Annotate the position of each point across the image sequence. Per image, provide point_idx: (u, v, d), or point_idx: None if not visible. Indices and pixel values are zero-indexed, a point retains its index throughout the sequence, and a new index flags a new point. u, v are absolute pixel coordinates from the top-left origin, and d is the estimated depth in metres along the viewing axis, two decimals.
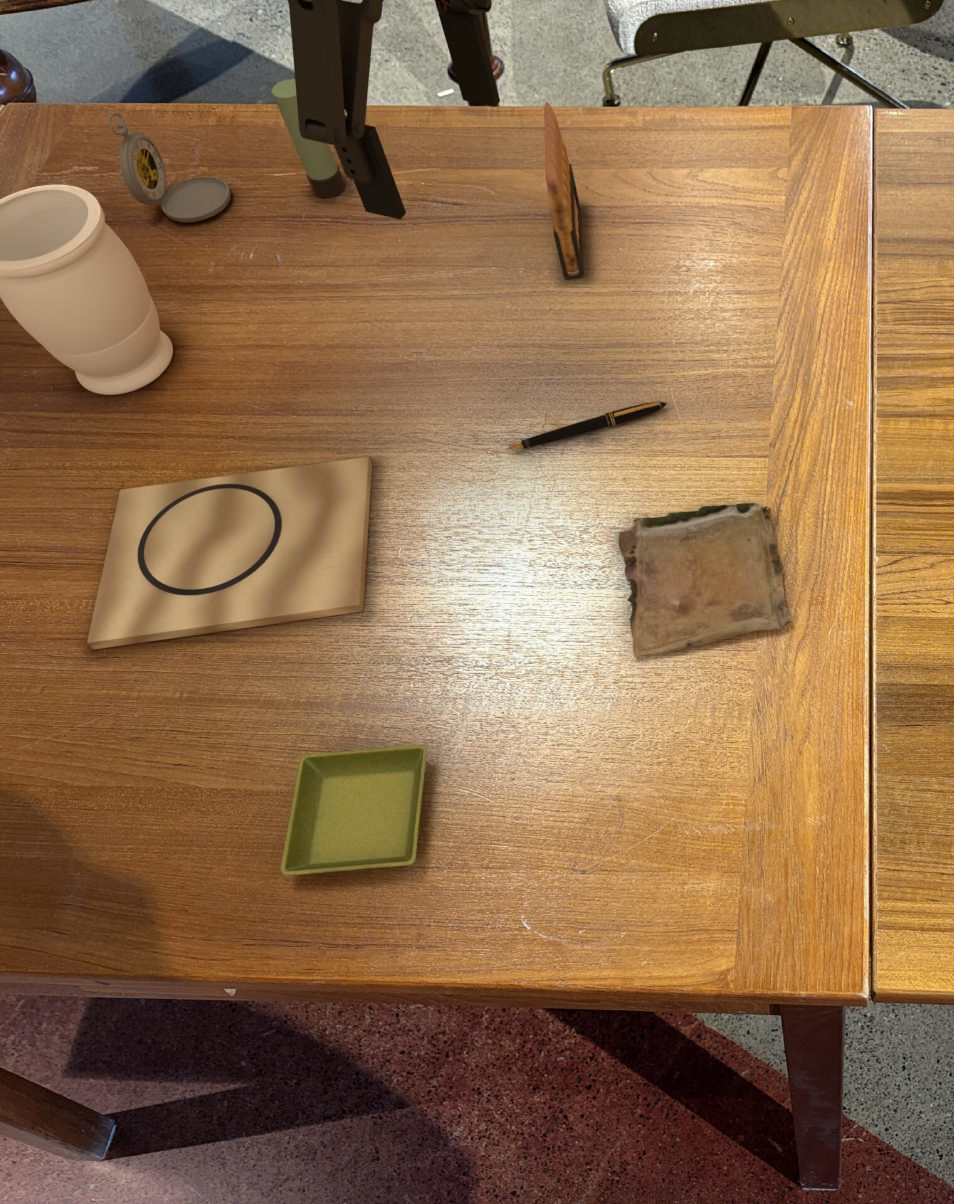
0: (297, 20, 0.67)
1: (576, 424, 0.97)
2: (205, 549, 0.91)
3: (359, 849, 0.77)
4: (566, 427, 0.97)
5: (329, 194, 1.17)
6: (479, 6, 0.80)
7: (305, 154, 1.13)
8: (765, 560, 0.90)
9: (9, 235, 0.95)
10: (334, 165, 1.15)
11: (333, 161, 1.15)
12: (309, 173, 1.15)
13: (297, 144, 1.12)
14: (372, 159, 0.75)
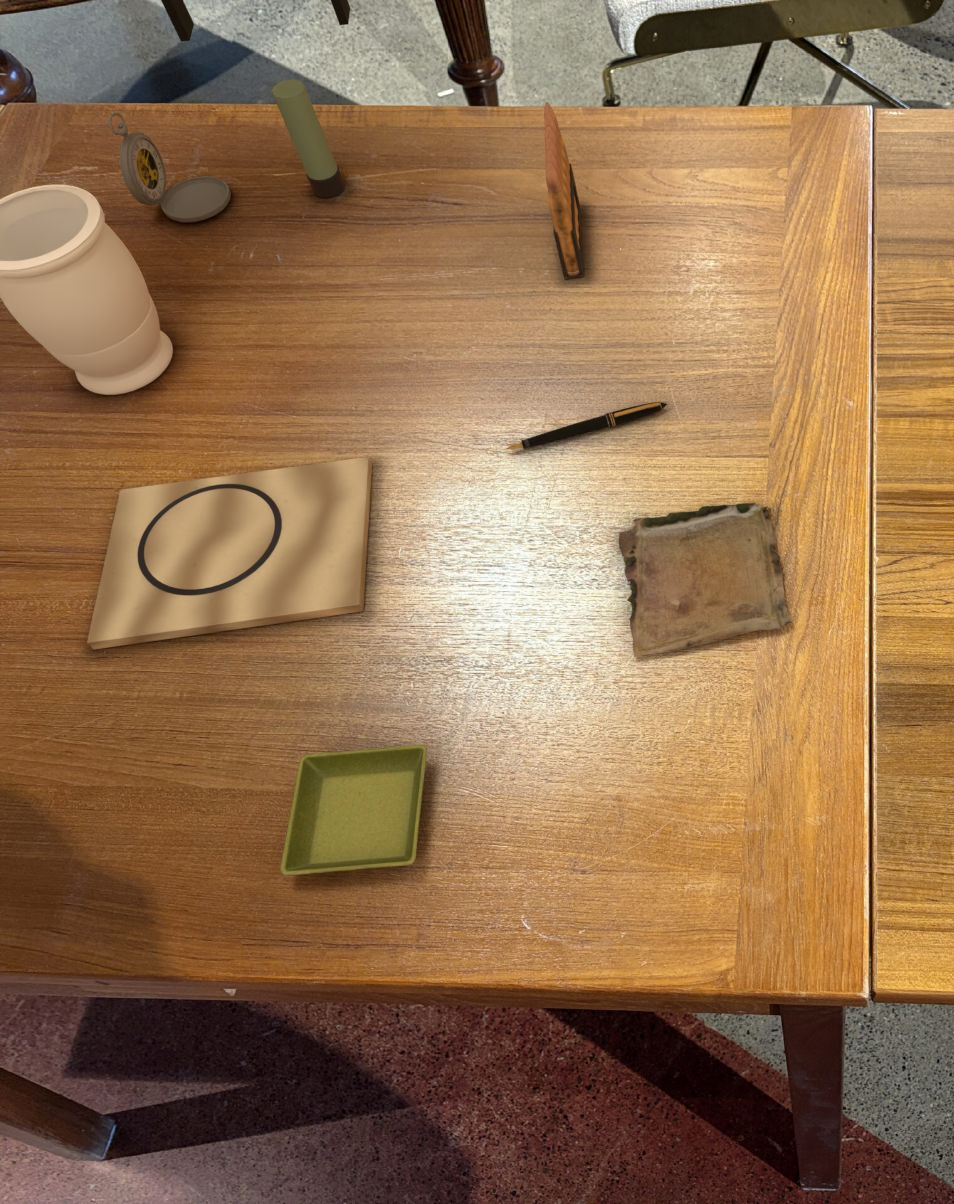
0: None
1: (576, 424, 0.97)
2: (205, 549, 0.91)
3: (359, 849, 0.77)
4: (566, 427, 0.97)
5: (329, 194, 1.17)
6: None
7: (305, 154, 1.13)
8: (765, 560, 0.90)
9: (9, 235, 0.95)
10: (334, 165, 1.15)
11: (333, 161, 1.15)
12: (309, 173, 1.15)
13: (297, 144, 1.12)
14: None
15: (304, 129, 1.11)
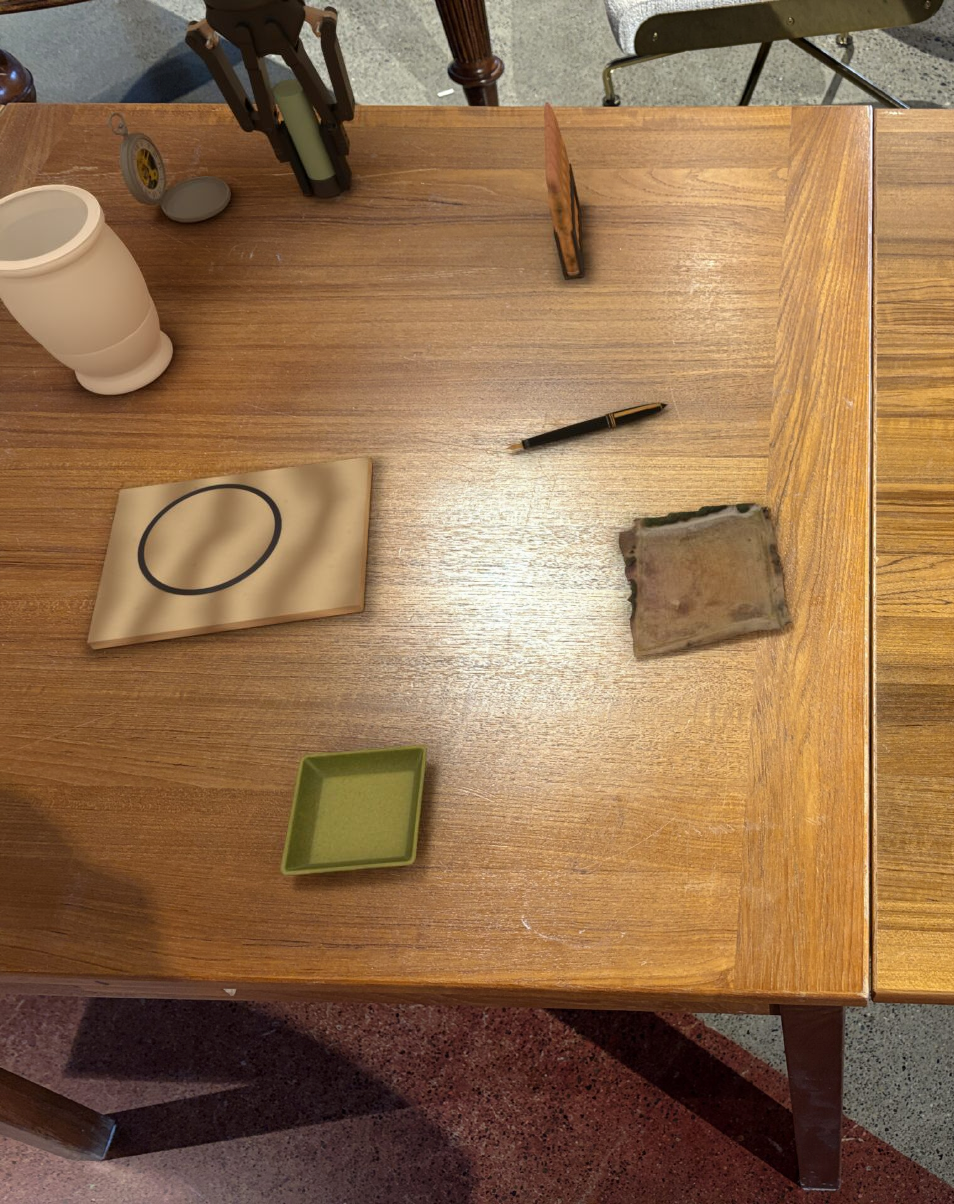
0: None
1: (576, 425, 0.97)
2: (205, 549, 0.91)
3: (359, 849, 0.77)
4: (566, 427, 0.97)
5: (329, 194, 1.17)
6: (327, 126, 1.11)
7: (305, 154, 1.13)
8: (765, 560, 0.90)
9: (9, 235, 0.95)
10: None
11: None
12: (309, 173, 1.15)
13: (297, 144, 1.12)
14: None
15: (304, 129, 1.11)
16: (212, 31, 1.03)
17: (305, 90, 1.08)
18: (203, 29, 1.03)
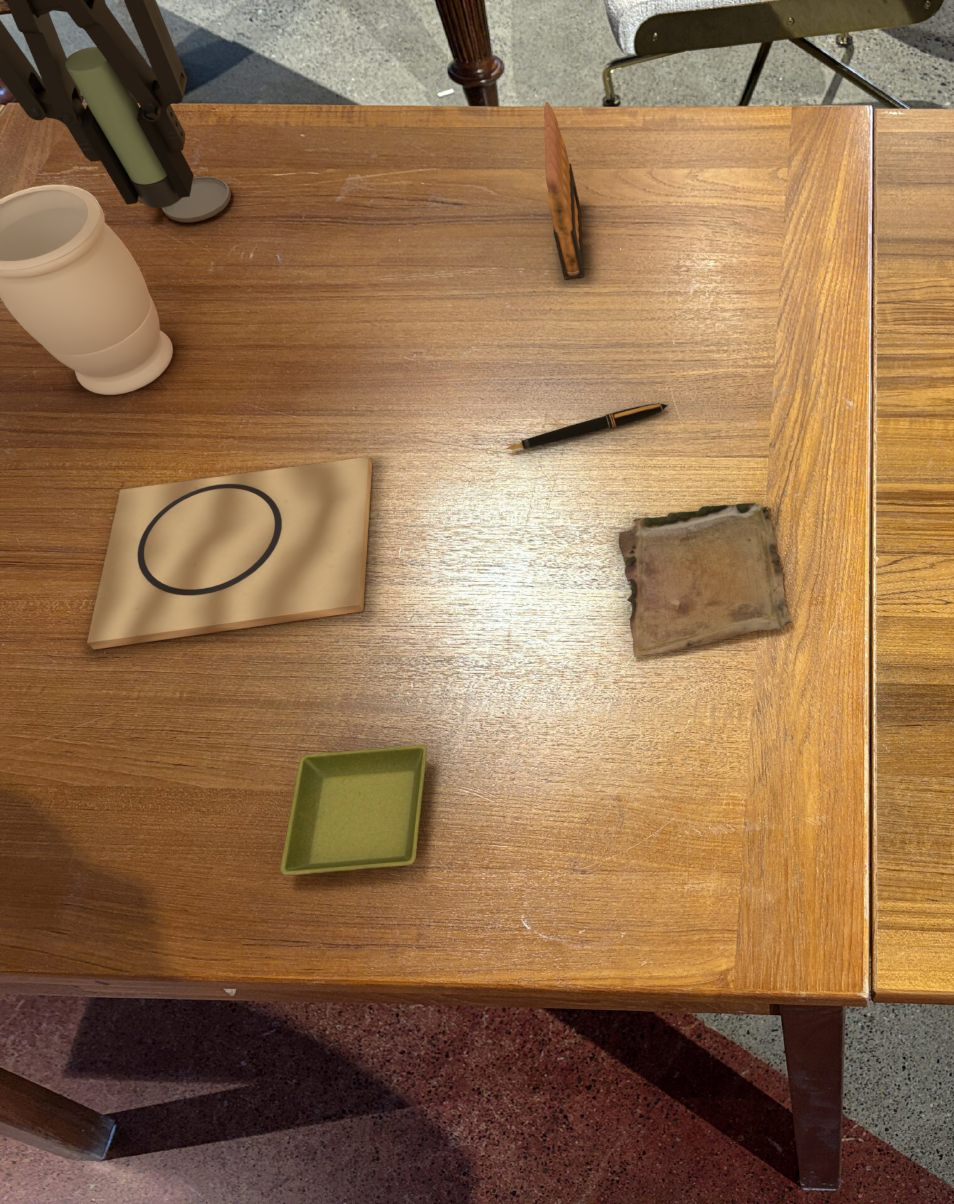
0: None
1: (576, 425, 0.97)
2: (205, 549, 0.91)
3: (359, 849, 0.77)
4: (566, 428, 0.97)
5: (161, 203, 0.87)
6: (146, 110, 0.82)
7: (121, 149, 0.84)
8: (765, 560, 0.90)
9: (9, 235, 0.95)
10: None
11: None
12: (131, 175, 0.86)
13: (109, 136, 0.83)
14: None
15: (114, 115, 0.81)
16: None
17: (110, 61, 0.79)
18: None
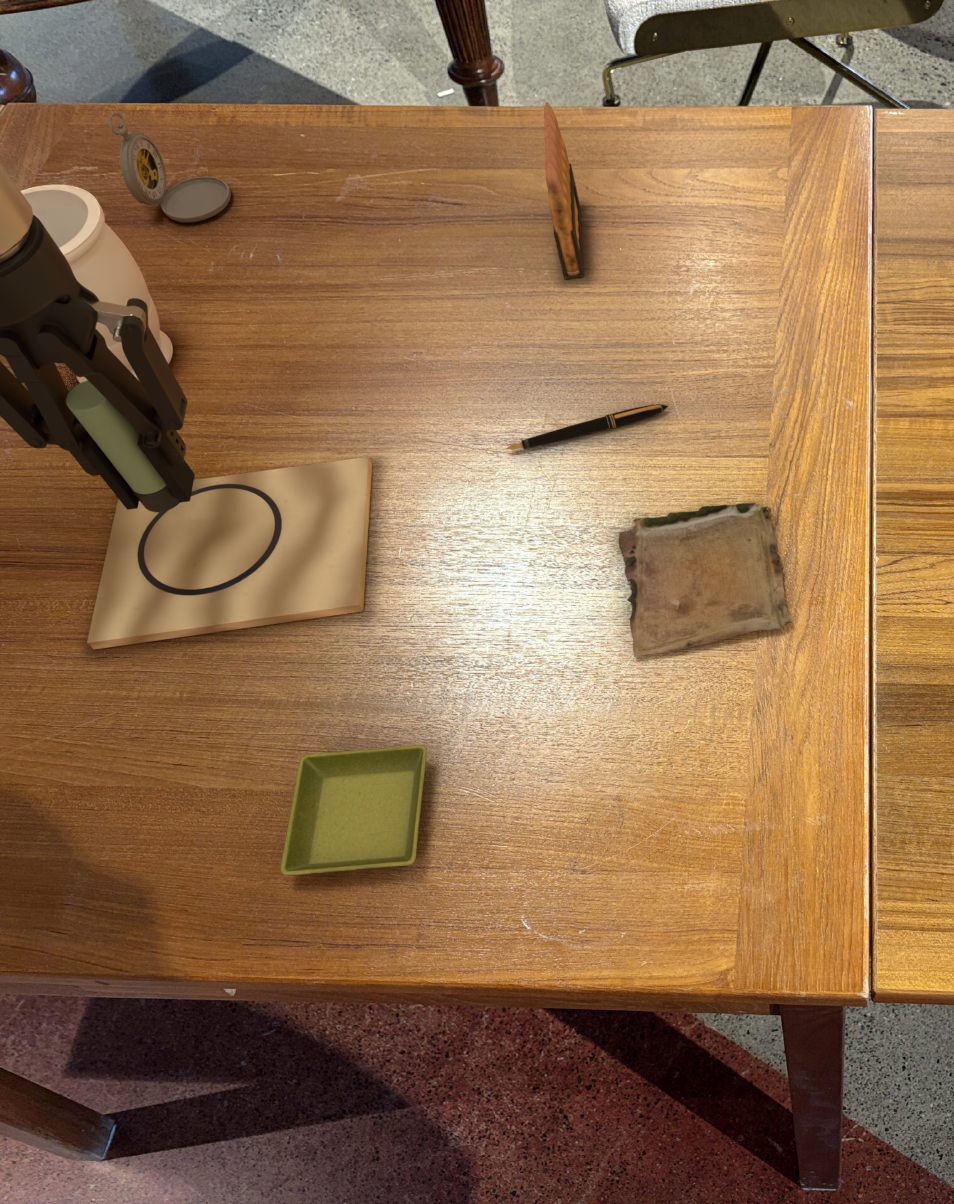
0: None
1: (576, 425, 0.97)
2: (205, 549, 0.91)
3: (359, 849, 0.77)
4: (566, 428, 0.97)
5: (161, 508, 0.88)
6: (146, 437, 0.82)
7: (121, 468, 0.84)
8: (765, 560, 0.90)
9: None
10: None
11: None
12: (131, 487, 0.86)
13: (109, 458, 0.83)
14: None
15: (114, 442, 0.82)
16: None
17: (110, 400, 0.79)
18: None
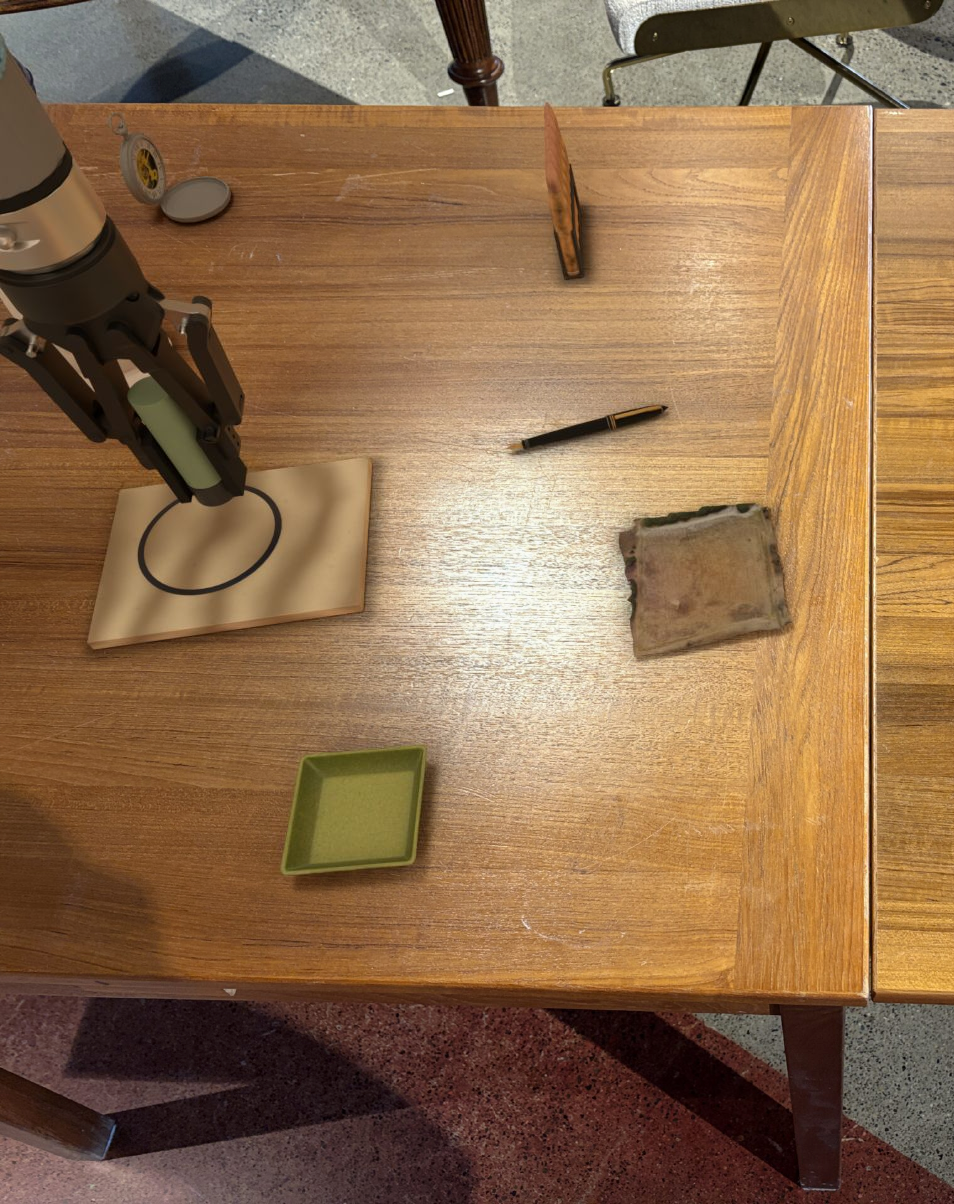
0: None
1: (576, 425, 0.97)
2: (205, 549, 0.91)
3: (359, 849, 0.77)
4: (566, 428, 0.97)
5: (216, 503, 0.88)
6: (205, 433, 0.83)
7: (178, 463, 0.85)
8: (765, 560, 0.90)
9: None
10: None
11: None
12: (187, 481, 0.87)
13: (167, 453, 0.84)
14: None
15: (174, 438, 0.83)
16: (35, 335, 0.75)
17: (172, 396, 0.80)
18: (22, 333, 0.74)
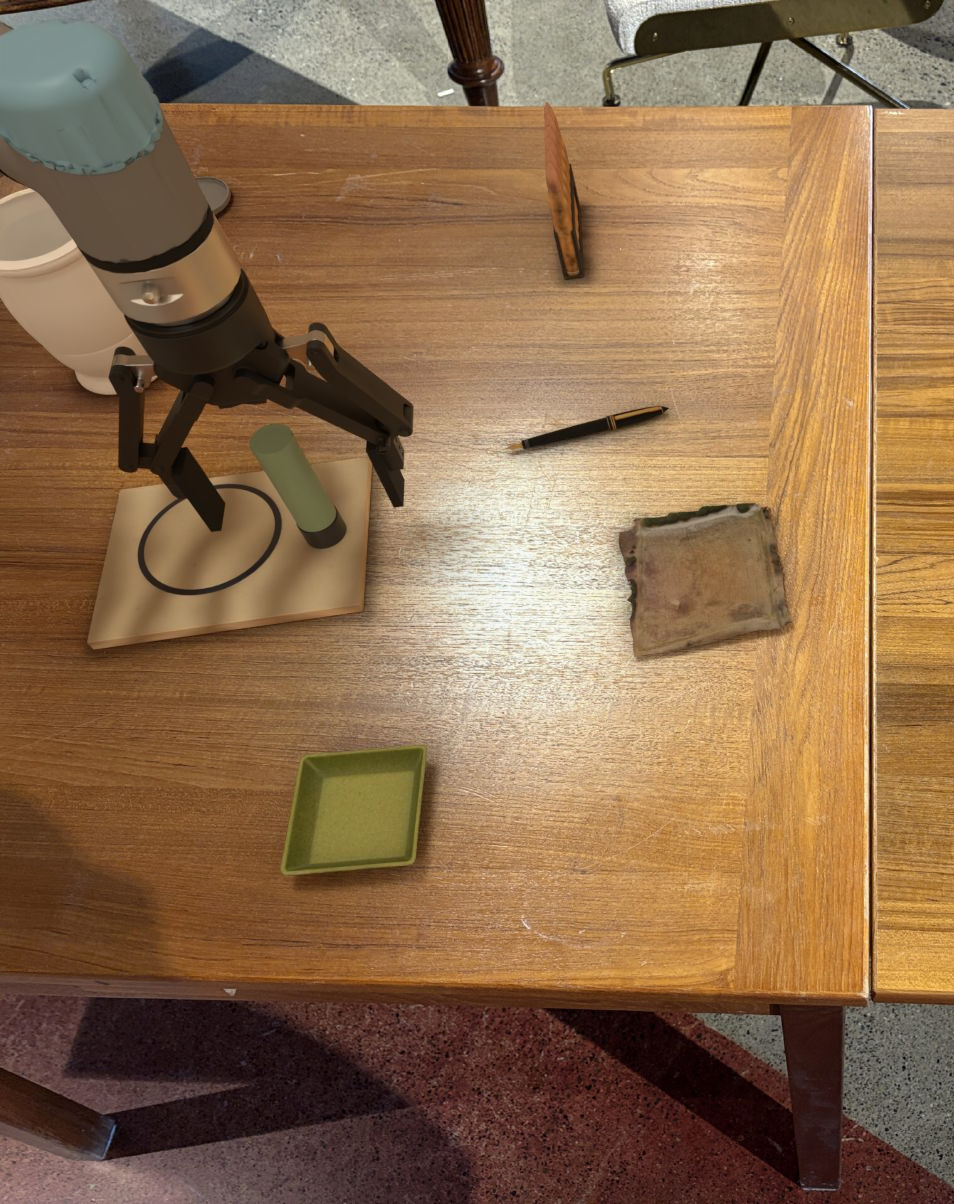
0: None
1: (577, 426, 0.97)
2: (205, 549, 0.91)
3: (359, 849, 0.77)
4: (566, 429, 0.97)
5: (325, 545, 0.90)
6: (378, 445, 0.83)
7: (293, 508, 0.87)
8: (765, 560, 0.90)
9: (9, 235, 0.95)
10: (332, 512, 0.89)
11: (331, 508, 0.89)
12: (299, 525, 0.89)
13: (283, 498, 0.86)
14: None
15: (292, 484, 0.84)
16: (152, 375, 0.76)
17: (329, 421, 0.81)
18: (141, 369, 0.75)
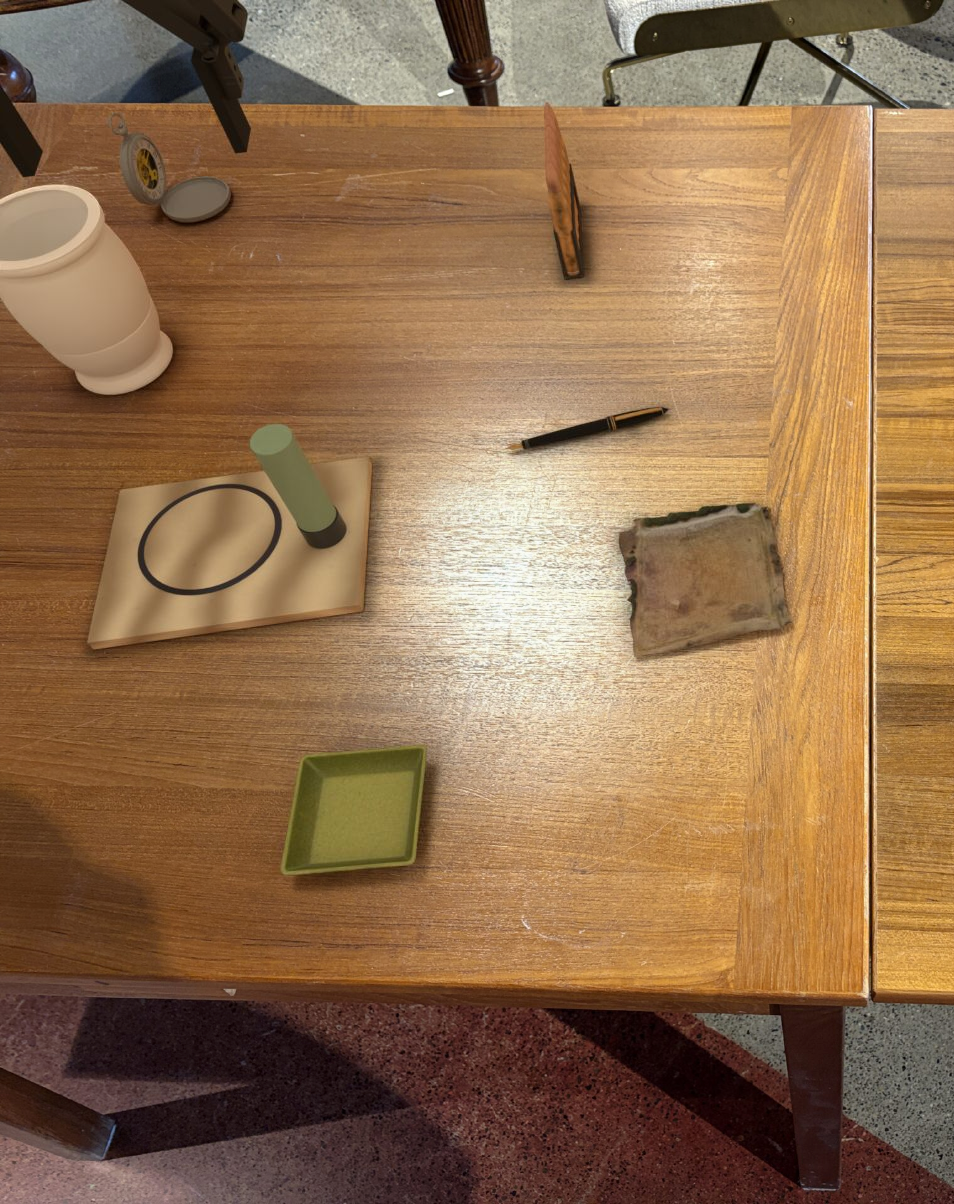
0: None
1: (577, 426, 0.97)
2: (205, 549, 0.91)
3: (359, 849, 0.77)
4: (567, 429, 0.97)
5: (325, 545, 0.90)
6: (204, 52, 0.71)
7: (293, 508, 0.87)
8: (765, 560, 0.90)
9: (9, 235, 0.95)
10: (332, 512, 0.89)
11: (331, 508, 0.89)
12: (299, 525, 0.89)
13: (283, 498, 0.86)
14: None
15: (292, 484, 0.84)
16: None
17: (141, 11, 0.69)
18: None
